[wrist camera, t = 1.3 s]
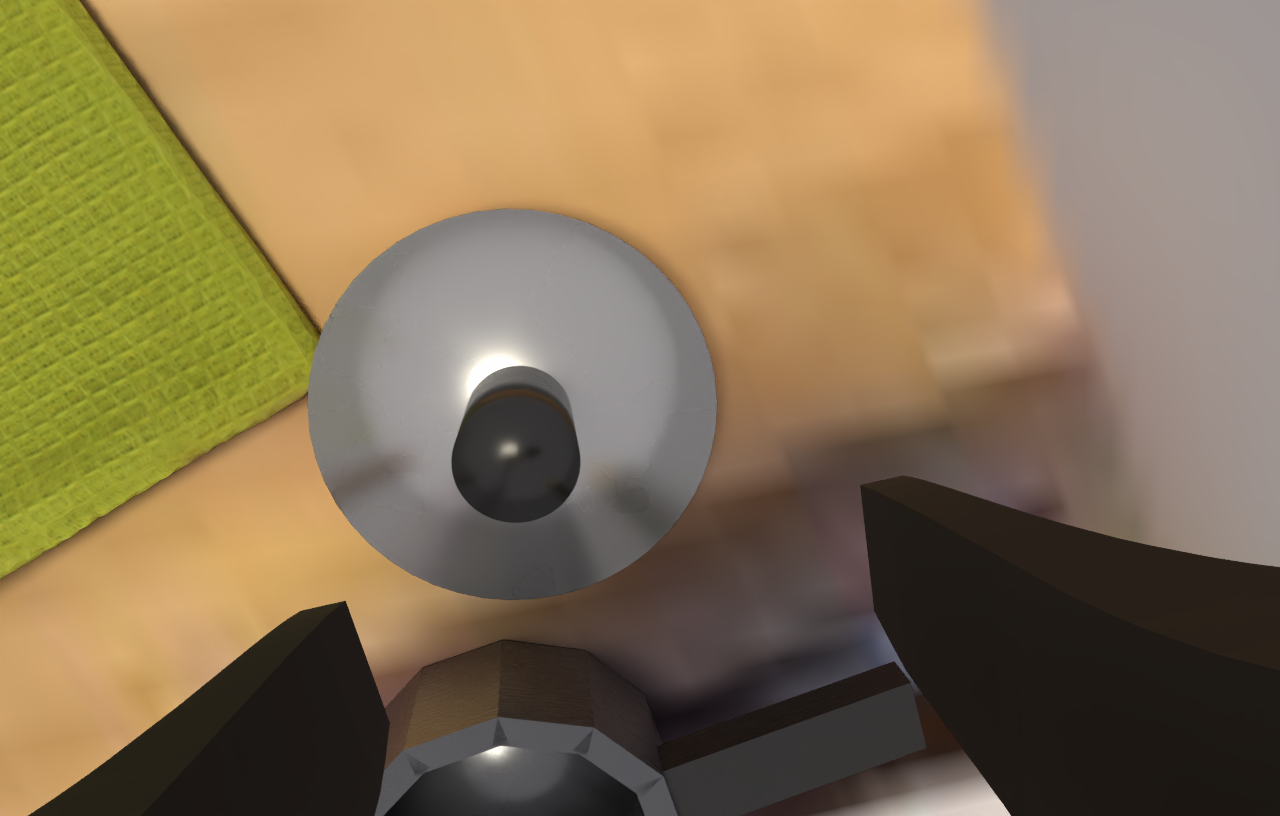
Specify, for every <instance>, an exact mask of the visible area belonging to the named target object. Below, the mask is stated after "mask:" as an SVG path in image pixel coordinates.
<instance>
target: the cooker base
mask: <svg viewBox="0 0 1280 816" xmlns="http://www.w3.org/2000/svg"><path fill="white" fill-rule="evenodd" d="M385 711H386V714H387V717H388V719H389V722H390V726H389V735H388V743H387V751H386V760H385V767H384V773H383V780H382V786H381V792H380V797H379V801H378V804H377V808H376V812H375V816H740V815H743V814H746V813H749V812H751V811H754V810H757V809H760V808H762V807H765V806H768V805H771V804H773V803H776V802H779V801H782V800H784V799H787V798H790V797H793V796H795V795H798V794H801V793H804V792H806V791H809V790H812V789H815V788H817V787H820V786H823V785H826V784H828V783H831V782H834V781H837V780H839V779H842V778H845V777H848V776H850V775H853V774H856V773H859V772H861V771H864V770H867V769H870V768H872V767H875V766H878V765H881V764H883V763H886V762H889V761H892V760H894V759H897V758H900V757H903V756H905V755H908V754H911V753H914V752H916V751H919V750H922V749H925V748H926V744H925V740H924V736H923V731H922V727H921V723H920V719H919V715H918V710H917V706H916V702H915V698H914V694H913V689H912V685H911V682H910V681H909V680H908V678H907V677H906V676H905V674H904V673H903V672H902V671H901V669H900V668H899V667H898V666H897V664H896V663H895V662H891V663H888V664H885V665H883V666H880V667H877V668H874V669H871V670H869V671H866V672H863V673H860V674H857V675H855V676H852V677H849V678H846V679H843V680H841V681H838V682H835V683H832V684H829V685H827V686H824V687H821V688H818V689H815V690H813V691H810V692H807V693H804V694H801V695H799V696H796V697H793V698H790V699H787V700H785V701H782V702H779V703H776V704H773V705H771V706H768V707H765V708H762V709H759V710H757V711H754V712H751V713H748V714H745V715H743V716H740V717H737V718H734V719H731V720H729V721H726V722H723V723H720V724H717V725H715V726H712V727H709V728H706V729H703V730H701V731H698V732H695V733H692V734H689V735H687V736H684V737H681V738H678V739H675V740H673V741H670V742H667V743H664V744H662V742H661V739H660V736H659V733H658V730H657V728H656V725H655V722H654V719H653V716H652V714H651V711H650V708H649V705H648V702H647V700H646V697H645V694H643V693H642V692H641V691H639V690H638V689H636V688H635V687H634V686H632V685H631V684H630V683H628V682H627V681H626V680H624V679H623V678H622V677H620V676H619V675H617V674H616V673H615V672H613V671H612V670H611V669H609V668H608V667H607V666H605V665H604V664H603V663H601V662H600V661H599V660H597V659H596V658H594V657H593V656H592V655H590V654H589V653H588V652H586V651H584V650H577V649H569V648H561V647H553V646H546V645H538V644H530V643H522V642H514V641H507V640H502V641H499V642H496V643H493V644H490V645H487V646H484V647H481V648H479V649H476V650H473V651H470V652H467V653H464V654H461V655H458V656H456V657H453V658H450V659H447V660H444V661H441V662H438V663H435V664H432V665H430V666H427V667H424V668H422V669H421V670H420V671H419V672H418V673H417V674H416V675H415V677H414V678H413V679H412V680H411V681H410V682H409V683H408V684H407V685H406V686H405V687H404V688H403V690H402V691H401V692H400V693H399V694H398V695H397V696H396V697H395V698H394V699H393V700H392V701H391V702H390V704H389V705H388V706H387V707H386V708H385Z"/></svg>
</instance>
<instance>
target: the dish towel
mask: <svg viewBox="0 0 1280 816" xmlns="http://www.w3.org/2000/svg"><path fill="white" fill-rule="evenodd" d="M319 339H320V335H319V333H318V332H317V331H316V329H315V328H314V326H313V325H312V324H311V322H310V321H309V320H308V318H307V317H306V316H305V314H304V313H303V312H302V310H301V309H300V307H299V306H298V304H297V302H296V300H295V299H294V298H293V296H292V295H291V294H290V292H289V291H288V290H287V288H286V287H285V286H284V284H283V283H282V281H281V280H280V278H279V277H278V275H277V274H276V272H275V271H274V270H273V268H272V267H271V265H270V264H269V263H268V261H267V260H266V258H265V257H264V256H263V254H262V253H261V251H260V250H259V248H258V247H257V246H256V245H255V243H254V242H253V241H252V239H251V238H250V237H249V235H248V234H247V233H246V231H245V230H244V229H243V227H242V226H241V225H240V223H239V222H238V221H237V219H236V218H235V217H234V215H233V214H232V213H231V211H230V210H229V209H228V207H227V206H226V204H225V203H224V202H223V200H222V199H221V198H220V196H219V195H218V194H217V192H216V191H215V189H214V188H213V187H212V185H211V184H210V183H209V181H208V180H207V179H206V177H205V176H204V175H203V173H202V172H201V171H200V169H199V168H198V166H197V165H196V164H195V162H194V161H193V159H192V158H191V157H190V155H189V154H188V152H187V151H186V150H185V148H184V147H183V145H182V144H181V143H180V141H179V140H178V138H177V137H176V136H175V134H174V133H173V131H172V130H171V129H170V127H169V126H168V124H167V123H166V121H165V120H164V118H163V117H162V115H161V114H160V112H159V111H158V110H157V108H156V107H155V105H154V104H153V102H152V101H151V100H150V98H149V97H148V96H147V94H146V93H145V92H144V90H143V89H142V87H141V86H140V85H139V83H138V82H137V81H136V79H135V78H134V77H133V75H132V74H131V73H130V71H129V70H128V68H127V67H126V66H125V64H124V63H123V61H122V60H121V58H120V57H119V56H118V54H117V53H116V51H115V50H114V49H113V47H112V46H111V44H110V43H109V42H108V40H107V39H106V38H105V36H104V35H103V33H102V32H101V30H100V29H99V28H98V26H97V25H96V23H95V22H94V20H93V19H92V18H91V16H90V15H89V13H88V12H87V10H86V9H85V8H84V6H83V5H82V3H81V2H80V1H79V0H0V580H1V579H2V578H3V577H4V576H6V575H7V574H9V573H11V572H13V571H15V570H17V569H19V568H20V567H22V566H23V565H25V564H26V563H27V562H29V561H31V560H33V559H36V558H38V557H39V556H40V555H41V554H42V553H44V552H45V551H46V550H49V549H52V548H55V547H56V546H57V545H58V544H59V543H60V542H61V541H63V540H66V539H68V538H71V537H73V536H74V535H75V534H76V533H77V532H78V531H79V530H80V529H83V528H85V527H87V526H89V525H90V524H91V523H93V522H94V521H95V520H96V519H97V518H98V517H101V516H104V515H106V514H108V513H109V512H110V511H112V510H113V509H114V508H116V507H117V506H119V505H121V504H123V503H125V502H127V501H129V500H130V499H131V498H132V497H134V496H135V495H137V494H140V493H142V492H144V491H146V490H147V489H148V488H150V487H151V486H153V485H154V484H156V483H157V482H159V481H161V480H162V479H164V478H167V477H168V476H170V475H171V474H172V473H174V472H175V471H177V470H179V469H181V468H182V467H184V466H186V465H188V464H189V463H191V462H192V461H194V460H195V459H197V458H199V457H200V456H202V455H203V454H205V453H208V452H209V451H211V450H212V449H213V448H214V447H216V446H217V445H218V444H219V443H222V442H225V441H228V440H229V439H231V438H232V437H234V436H235V435H237V434H239V433H241V432H243V431H245V430H248V429H250V428H251V427H253V426H255V425H256V424H258V423H260V422H264V421H267V420H268V419H269V418H270V417H271V416H273V415H274V414H276V413H278V412H279V411H281V410H283V409H284V408H286V407H287V406H289V405H290V404H292V403H293V402H295V401H297V400H299V399H301V398H303V397H304V396H305V395H306V393H307V392H308V389H309V377H310V372H311V367H312V362H313V358H314V353H315V350H316V347H317V344H318V342H319Z"/></svg>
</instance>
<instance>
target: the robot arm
mask: <svg viewBox="0 0 1280 816" xmlns="http://www.w3.org/2000/svg"><path fill="white" fill-rule="evenodd" d="M860 487H861V496H862V505H863V514H864V523H865V532H866V540H867V549H868V558H869V567H870V576H871V585H872V594H873V603H874V611H875V613H876V615H877V617H878V619H879V621H880V623H881V625H882V627H883V628H884V630H885V632H886V634H887V636H888V638H889V640H890V642H891V644H892V646H893V647H894V649H895V651H896V653H897V655H898V656H899V658H900V660H901V662H902V664H903V666H904V667H905V669H906V671H907V672H908V674H909V675H910V676H911V678H912V679H913V681H914V682H915V684H916V685H917V686H918V688H919V689H920V691H921V692H922V693H923V695H924V696H925V698H926V699H927V700H928V702H929V703H930V704H931V706H932V707H933V709H934V710H935V711H936V713H937V714H938V716H939V717H940V718H941V720H942V721H943V722H944V724H945V725H946V727H947V728H948V729H949V731H950V732H951V733H952V735H953V736H954V737H955V739H956V740H957V742H958V743H959V744H960V746H961V747H962V748H963V750H964V751H965V752H966V754H967V755H968V757H969V758H970V759H971V761H972V762H973V763H974V765H975V766H976V768H977V769H978V770H979V772H980V773H981V774H982V776H983V777H984V778H985V780H986V781H987V783H988V784H989V785H990V787H991V788H992V789H993V791H994V792H995V794H996V795H997V796H998V798H999V799H1000V800H1001V802H1002V803H1003V804H1004V806H1005V807H1006V809H1007V810H1008V812H1009V813H1010V815H1011V816H1280V567H1274V566H1266V565H1258V564H1250V563H1244V562H1238V561H1231V560H1225V559H1219V558H1213V557H1206V556H1202V555H1196V554H1191V553H1186V552H1181V551H1176V550H1171V549H1166V548H1161V547H1155V546H1150V545H1145V544H1141V543H1137V542H1132V541H1128V540H1123V539H1119V538H1115V537H1111V536H1107V535H1103V534H1100V533H1096V532H1092V531H1088V530H1085V529H1081V528H1077V527H1073V526H1069V525H1066V524H1062V523H1059V522H1055V521H1052V520H1048V519H1045V518H1042V517H1038V516H1035V515H1032V514H1028V513H1025V512H1022V511H1019V510H1016V509H1012V508H1009V507H1006V506H1003V505H1000V504H997V503H994V502H991V501H988V500H984V499H981V498H978V497H975V496H972V495H969V494H966V493H963V492H960V491H957V490H954V489H951V488H948V487H945V486H941V485H938V484H935V483H931V482H928V481H925V480H921V479H917V478H913V477H908V476H899V477H894V478H890V479H886V480H881V481H877V482H872V483H868V484H863V485H860ZM389 726H390V722H389V719H388V717H387V714H386V711H385V708H384V706H383V703H382V700H381V697H380V695H379V692H378V689H377V686H376V684H375V681H374V678H373V675H372V673H371V670H370V667H369V664H368V661H367V659H366V656H365V653H364V650H363V648H362V645H361V642H360V639H359V637H358V634H357V631H356V628H355V626H354V623H353V620H352V617H351V615H350V612H349V609H348V606H347V604H346V601H343V602H338V603H334V604H329V605H325V606H320V607H316V608H312V609H307V610H303V611H300V612H298V613H297V614H295V615H293V616H292V617H290V618H289V619H287V620H286V621H284V622H283V623H282V624H280V625H279V626H277V627H276V628H275V629H273V630H272V631H271V632H269V633H268V634H267V635H266V636H264V637H263V638H262V639H260V640H259V641H258V642H257V643H255V644H254V645H253V646H252V647H250V648H249V649H248V650H247V651H245V652H244V653H243V654H242V655H241V656H239V657H238V658H237V659H236V660H234V661H233V662H232V663H231V664H229V665H228V666H227V667H226V668H225V669H223V670H222V671H221V672H220V673H218V674H217V675H216V676H215V677H214V678H212V679H211V680H210V681H209V682H207V683H206V684H205V685H204V686H202V687H201V688H200V689H199V690H198V691H196V692H195V693H194V694H193V695H191V696H190V697H189V698H188V699H186V700H185V701H184V702H183V703H182V704H180V705H179V706H178V707H177V708H175V709H174V710H173V711H171V712H170V713H169V714H167V715H166V716H165V717H163V718H162V719H161V720H160V721H158V722H157V723H156V724H154V725H153V726H152V727H150V728H149V729H148V730H147V731H145V732H144V733H143V734H141V735H140V736H139V737H137V738H136V739H135V740H133V741H132V742H131V743H130V744H128V745H127V746H126V747H124V748H123V749H122V750H120V751H119V752H118V753H117V754H115V755H114V756H113V757H111V758H110V759H109V760H107V761H106V762H105V763H103V764H102V765H101V766H99V767H98V768H97V769H95V770H94V771H92V772H91V773H90V774H88V775H87V776H85V777H84V778H83V779H81V780H80V781H78V782H77V783H76V784H74V785H73V786H71V787H70V788H68V789H67V790H66V791H64V792H63V793H61V794H60V795H58V796H57V797H56V798H54V799H53V800H51V801H50V802H48V803H47V804H45V805H44V806H42V807H40V808H39V809H37V810H36V811H34V812H33V813H31V814H30V815H28V816H375V812H376V808H377V804H378V801H379V797H380V792H381V786H382V780H383V773H384V767H385V760H386V751H387V743H388V735H389Z"/></svg>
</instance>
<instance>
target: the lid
mask: <svg viewBox="0 0 1280 816" xmlns="http://www.w3.org/2000/svg"><path fill="white" fill-rule="evenodd" d="M307 406H308V418H309V430H310V436H311V440H312V445H313V449H314V453H315V458H316V460H317V463H318V466H319V468H320V471H321V474H322V476H323V479H324V482H325V484H326V485H327V487H328V489H329V491H330V493H331V495H332V496H333V498H334V500H335V502H336V504H337V505H338V507H339V508H340V510H341V511H342V512H343V514H344V515H345V516H346V518H347V519H348V521H349V522H350V523H351V525H352V526H353V527H354V528H355V529H356V530H357V531H358V532H359V533H360V534H361V536H362V537H363V538H364V539H365V540H366V541H367V542H368V543H369V544H370V545H371V546H372V547H374V548H375V549H376V550H377V551H379V552H380V553H381V554H382V555H384V556H385V557H386V558H387V559H388V560H390V561H391V562H393V563H394V564H396V565H398V566H399V567H401V568H402V569H404V570H406V571H407V572H409V573H410V574H412V575H414V576H416V577H418V578H421V579H423V580H425V581H427V582H429V583H431V584H433V585H436V586H439V587H442V588H445V589H448V590H451V591H454V592H457V593H461V594H466V595H471V596H476V597H481V598H490V599H503V600H521V599H537V598H544V597H550V596H556V595H561V594H564V593H568V592H572V591H575V590H579V589H582V588H585V587H587V586H590V585H592V584H595V583H597V582H599V581H602V580H604V579H606V578H608V577H610V576H612V575H613V574H615V573H617V572H619V571H621V570H622V569H624V568H626V567H628V566H629V565H630V564H632V563H633V562H634V561H636V560H637V559H639V558H640V557H641V556H643V555H644V554H645V553H647V552H648V551H649V550H650V549H651V548H652V547H653V546H654V545H655V544H656V543H657V542H659V541H660V540H661V539H662V538H663V537H664V536H665V535H666V533H667V532H668V531H669V530H670V529H671V528H672V526H673V525H674V524H675V523H676V522H677V520H678V519H679V518H680V517H681V515H682V513H683V512H684V510H685V509H686V507H687V506H688V504H689V503H690V501H691V499H692V498H693V496H694V494H695V492H696V490H697V488H698V486H699V484H700V481H701V479H702V477H703V475H704V472H705V469H706V466H707V463H708V460H709V457H710V454H711V450H712V445H713V439H714V434H715V429H716V412H717V397H716V384H715V376H714V371H713V366H712V362H711V357H710V353H709V350H708V347H707V345H706V342H705V339H704V336H703V334H702V331H701V329H700V327H699V325H698V323H697V321H696V319H695V317H694V315H693V313H692V311H691V309H690V307H689V306H688V304H687V303H686V302H685V300H684V299H683V297H682V296H681V294H680V293H679V292H678V290H677V289H676V287H675V286H674V285H673V284H672V283H671V281H670V280H669V279H668V278H667V277H666V276H665V275H664V274H663V273H662V272H661V271H660V270H659V268H658V267H657V266H656V265H654V264H653V263H652V262H651V261H650V260H648V259H647V258H646V257H645V256H644V255H642V254H641V253H640V252H639V251H638V250H636V249H635V248H633V247H632V246H630V245H629V244H627V243H625V242H624V241H622V240H621V239H619V238H617V237H616V236H614V235H613V234H611V233H609V232H606V231H604V230H602V229H600V228H598V227H595V226H593V225H591V224H589V223H587V222H584V221H580V220H577V219H574V218H570V217H567V216H564V215H560V214H556V213H550V212H544V211H537V210H530V209H497V210H488V211H478V212H472V213H468V214H464V215H460V216H456V217H452V218H448V219H445V220H442V221H440V222H437V223H435V224H432V225H430V226H427V227H425V228H422V229H420V230H418V231H416V232H414V233H413V234H411V235H409V236H407V237H406V238H404V239H402V240H400V241H398V242H397V243H395V244H394V245H392V246H391V247H390V248H389V249H387V250H386V251H385V252H383V253H382V254H381V255H379V256H378V257H377V258H375V259H374V260H373V261H372V262H371V263H370V264H369V265H368V266H367V267H366V268H365V269H364V270H363V271H362V272H361V273H360V274H359V275H358V276H357V277H356V278H355V279H354V280H353V281H352V283H351V284H350V285H349V287H348V288H347V290H346V291H345V292H344V294H343V295H342V296H341V298H340V299H339V300H338V302H337V303H336V305H335V307H334V309H333V311H332V313H331V314H330V316H329V318H328V320H327V322H326V324H325V326H324V328H323V331H322V333H321V336H320V339H319V342H318V344H317V347H316V350H315V353H314V358H313V362H312V367H311V372H310V377H309V389H308V405H307Z"/></svg>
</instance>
